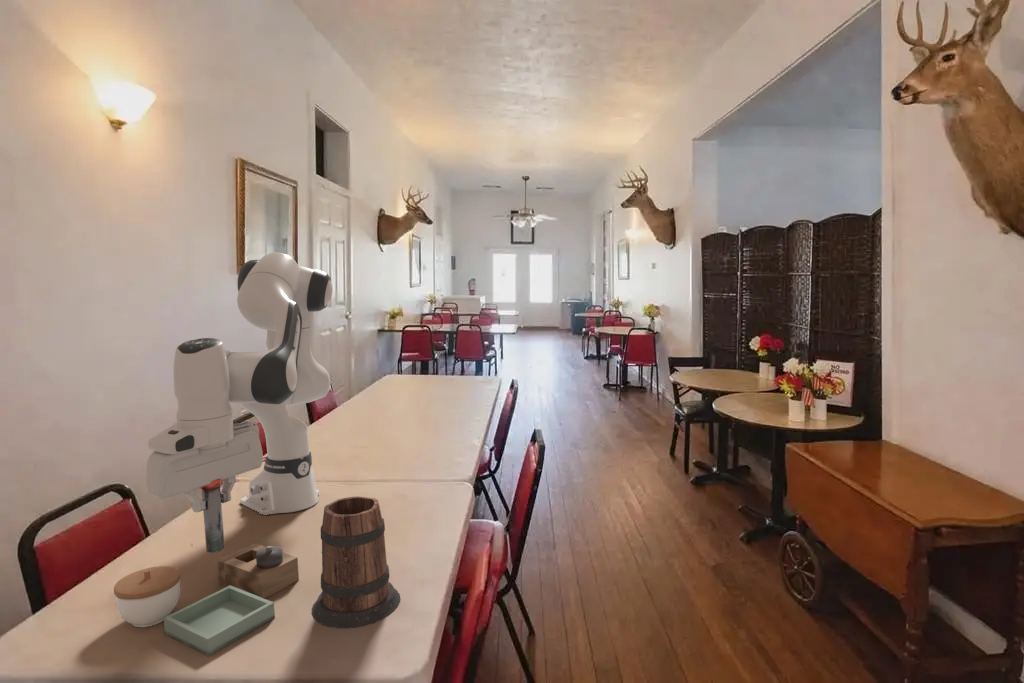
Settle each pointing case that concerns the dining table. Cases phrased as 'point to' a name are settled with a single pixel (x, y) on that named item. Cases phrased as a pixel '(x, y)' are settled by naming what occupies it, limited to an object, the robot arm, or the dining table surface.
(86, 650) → the dining table surface
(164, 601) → the lidded jar
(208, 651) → the tray
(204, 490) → the lock pin
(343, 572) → the tankard
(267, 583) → the block
